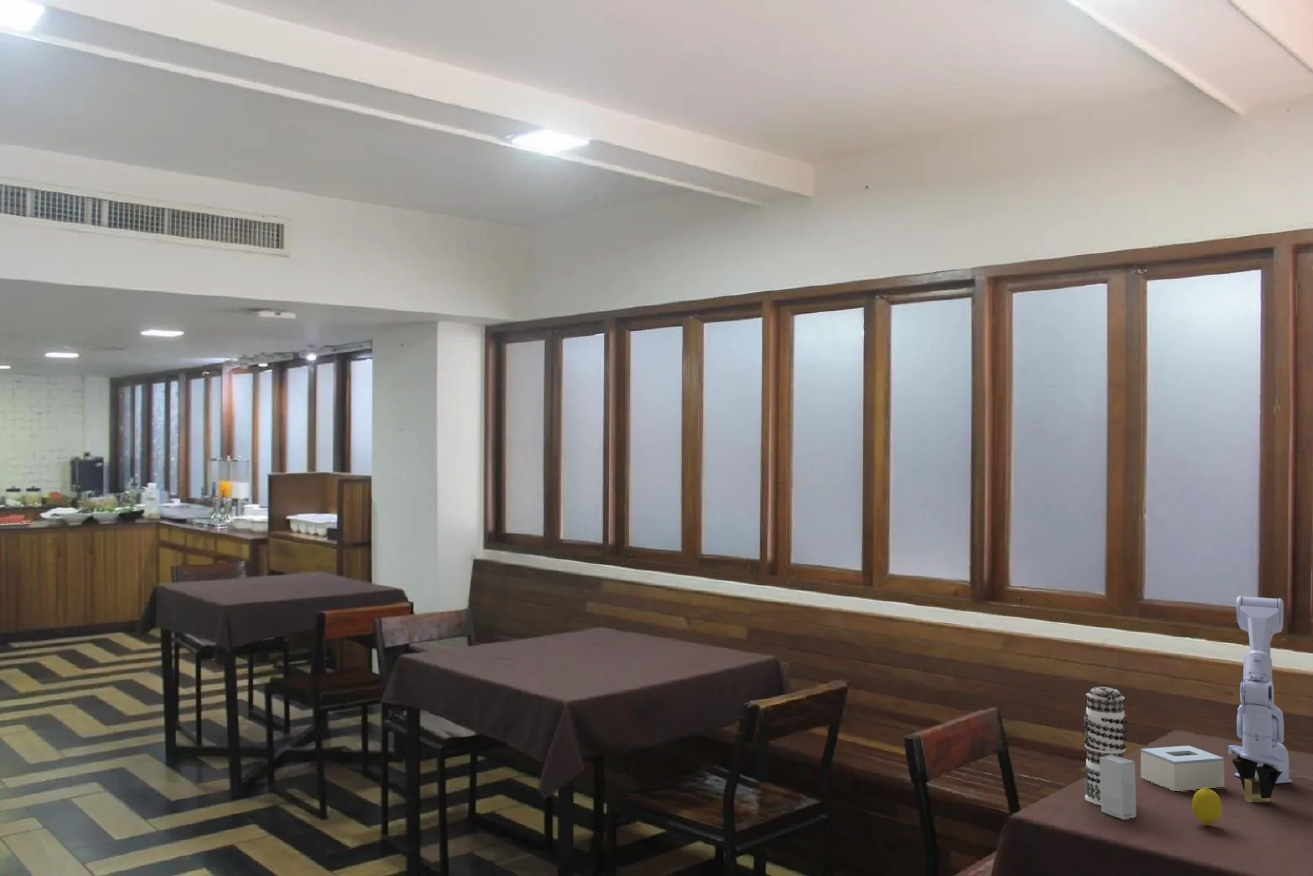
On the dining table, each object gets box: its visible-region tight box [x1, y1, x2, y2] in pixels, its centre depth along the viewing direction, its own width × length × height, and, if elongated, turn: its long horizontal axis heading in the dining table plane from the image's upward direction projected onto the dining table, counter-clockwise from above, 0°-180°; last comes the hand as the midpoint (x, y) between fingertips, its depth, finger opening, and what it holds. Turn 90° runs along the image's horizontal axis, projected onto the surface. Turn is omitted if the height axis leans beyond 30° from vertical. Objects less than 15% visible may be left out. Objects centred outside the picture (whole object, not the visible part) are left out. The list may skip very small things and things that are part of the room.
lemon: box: [1191, 787, 1223, 827], centre depth 218 cm, size 6×6×8 cm
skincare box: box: [1100, 755, 1137, 821], centre depth 224 cm, size 6×4×12 cm
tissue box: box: [1140, 745, 1225, 792], centre depth 248 cm, size 14×11×7 cm
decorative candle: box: [1083, 686, 1129, 806], centre depth 234 cm, size 9×9×25 cm
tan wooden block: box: [1244, 777, 1271, 803], centre depth 235 cm, size 5×2×5 cm, turn 105°
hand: (1257, 794), depth 235 cm, fingers open, 4 cm apart
